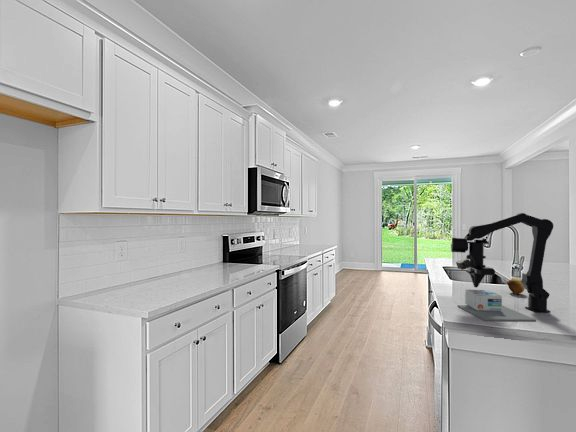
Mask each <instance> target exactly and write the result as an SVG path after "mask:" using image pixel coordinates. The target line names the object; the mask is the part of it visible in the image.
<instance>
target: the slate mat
mask: <svg viewBox="0 0 576 432" xmlns="http://www.w3.org/2000/svg"><path fill="white" fill-rule="evenodd" d="M457 308H460V309H462V310H464V311H466V312H467V313H469V314H471V315H473V316H475V317H477V318H479V319H480V320H482V321H484V322H537V319H536V318H533V317H531V316H528V315H526V314H524V313H521V312H519V311H517V310H514V309H511V308H509V307H506V306H504V305H502V311H480V310H475V309H474V308H472V307H470V306H468V305H467V304H457Z"/></svg>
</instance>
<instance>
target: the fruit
mask: <svg viewBox="0 0 576 432" xmlns="http://www.w3.org/2000/svg"><path fill="white" fill-rule="evenodd" d="M521 280H522V279H519V278H518V277H517V278H516V277H515V278H511V279H509V280H508V281H507V282H506V284H507V286H508V289H509V290H510V292H512V294H515V295H519V294H521V293H523V292H524V291H525V290H526V289H525V288H524V287H523V285H522V282H521Z"/></svg>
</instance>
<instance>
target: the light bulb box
mask: <svg viewBox="0 0 576 432" xmlns="http://www.w3.org/2000/svg"><path fill="white" fill-rule="evenodd" d="M464 294H465V295H464V296H465V297H464V305H468V306H470V307H472V308H474V309H475V310H480V311H502V306H503V303H502V302H503V299H502V295H501V294H500V293H496V292H493V291H491V290H489V289H465V293H464Z"/></svg>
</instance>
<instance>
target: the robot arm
mask: <svg viewBox="0 0 576 432" xmlns="http://www.w3.org/2000/svg"><path fill="white" fill-rule="evenodd" d="M521 223H522V224H523V225H526V226H527V227H528V226H529V227H531V231H532V238H533V241H532V248H531V252H530V261H529V266H528V270H527V272H525V273H522V274H521V279H520V280H521V282H522V285H523V287H524V288H525V289H524V290H526V291H527V294H528V298H527V300H528V303H527V305H528V306H525V307H524V308H525V309H527V310H530V311H533V312H535V313H551V310H549V309H548V299H549V297H550V293H549V292H548V291H547V290H546V289H544V281H543V277H542V269H543V262H544V258H545V251H546V246H547V240H548V239H549V238H550V236H551V234H552V231H553V229H554V223H553V222H552V221H551V220H550V219H546V218H538V217H535V216H532V215H529V214H526V213H525V212H519V213H516V214H514V215H511V216H508V217H505V218H501V219H498V220H496V221H493V222H490V223H489V222H488V223H484V224H477V225H476V224H475V225H472V226H470V227H469V229H468V233H467V234H466V235H465V236H464V237H463V238H462V237H452V238H451V244H450V251H451V253H464V254H465V253H466V252H467V251H468V252H469V253H468V254H467V255H466V257H465V258H462V259H460V260H456V261H455V264H456V267H457V269H459V270H461V271H462V270H465V272H466V273H468V274H469V276H470V278H471V281H472V284H473V287H474V288H478V287H479V285H480V284H481V282H482V280H483V279H484V277H485V276H495V275H496V270H495V269H494V268H493V267H489V266H486V264H484V259H487V257H486V255H484V252H485V251H484V250H485V249H484V248H485V247H484V245H489V244H490V242H489V241H487V240H486V238H484V237H486V236H488V235H490V234H491V233H493V232H495V231H498V230H501V229H505V228H508V227H512V226H514V225H517V224H521ZM473 240H474V241H473Z"/></svg>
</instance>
